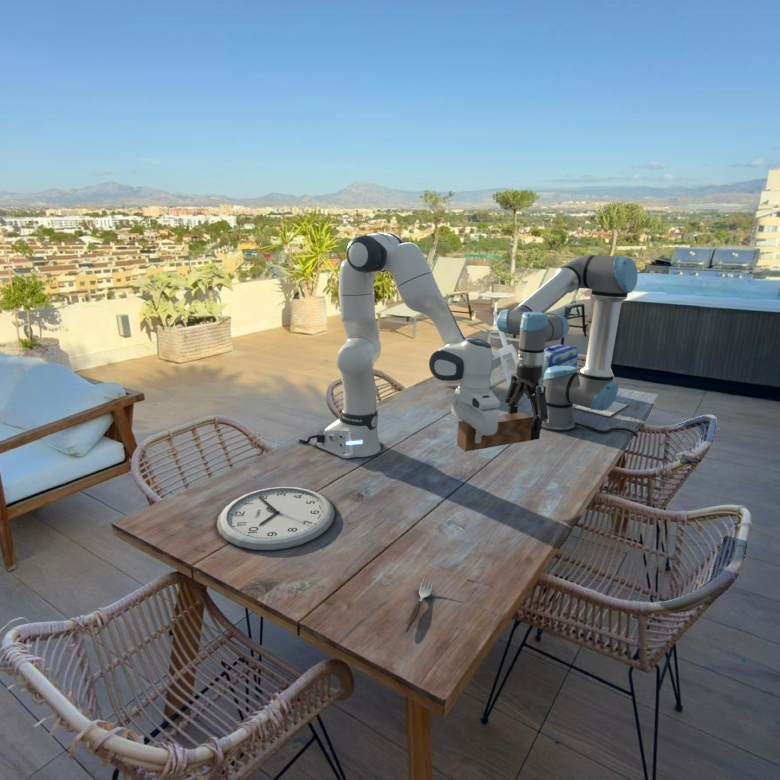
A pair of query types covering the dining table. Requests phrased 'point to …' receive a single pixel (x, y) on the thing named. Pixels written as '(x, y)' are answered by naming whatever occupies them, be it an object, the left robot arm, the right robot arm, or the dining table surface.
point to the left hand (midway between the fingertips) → (471, 438)
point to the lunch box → (558, 358)
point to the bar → (498, 432)
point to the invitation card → (608, 412)
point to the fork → (423, 593)
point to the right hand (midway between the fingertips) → (523, 432)
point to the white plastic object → (499, 357)
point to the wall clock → (275, 518)
